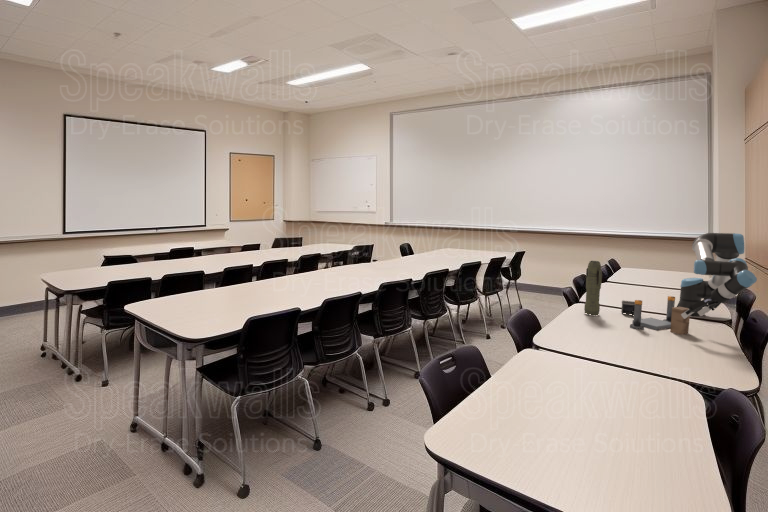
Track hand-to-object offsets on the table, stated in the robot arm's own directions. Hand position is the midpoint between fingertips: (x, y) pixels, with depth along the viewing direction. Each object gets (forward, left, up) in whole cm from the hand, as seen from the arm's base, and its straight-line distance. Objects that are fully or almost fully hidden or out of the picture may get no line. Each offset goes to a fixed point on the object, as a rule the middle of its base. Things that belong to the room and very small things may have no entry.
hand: (691, 315), depth 236 cm
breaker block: (-1, -6, -11) cm, 13 cm away
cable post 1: (+12, -22, -11) cm, 28 cm away
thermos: (+11, -55, -12) cm, 57 cm away
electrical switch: (-11, -45, -12) cm, 48 cm away
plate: (-2, -22, -11) cm, 25 cm away
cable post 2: (-16, -22, -11) cm, 30 cm away
